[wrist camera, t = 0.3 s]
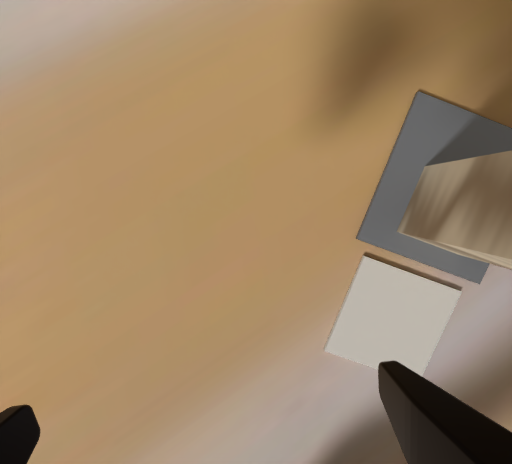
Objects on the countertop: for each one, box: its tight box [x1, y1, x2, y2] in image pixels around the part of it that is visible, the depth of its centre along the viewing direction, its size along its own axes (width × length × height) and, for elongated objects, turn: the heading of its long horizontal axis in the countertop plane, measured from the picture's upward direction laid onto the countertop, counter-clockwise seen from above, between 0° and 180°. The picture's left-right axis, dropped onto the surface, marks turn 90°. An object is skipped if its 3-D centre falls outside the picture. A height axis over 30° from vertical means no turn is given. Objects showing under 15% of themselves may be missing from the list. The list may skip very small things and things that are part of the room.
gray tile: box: [356, 91, 512, 284], centre depth 20 cm, size 11×10×1 cm
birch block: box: [397, 150, 512, 270], centre depth 15 cm, size 5×5×10 cm
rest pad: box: [324, 256, 462, 376], centre depth 21 cm, size 8×8×1 cm
